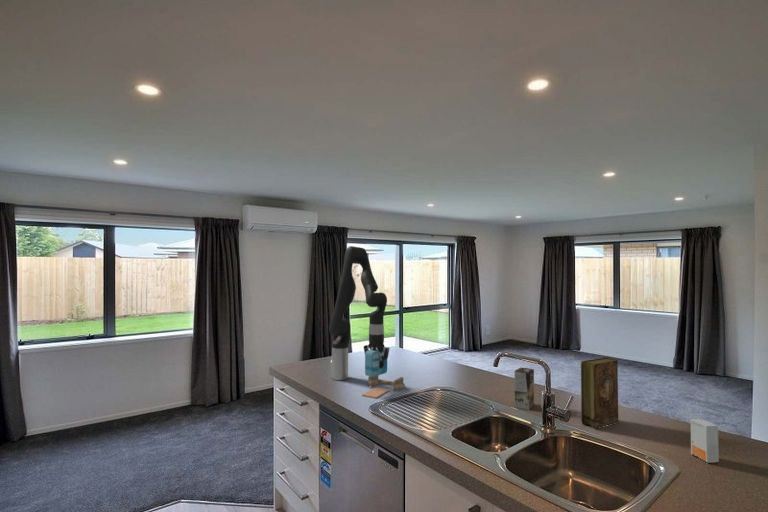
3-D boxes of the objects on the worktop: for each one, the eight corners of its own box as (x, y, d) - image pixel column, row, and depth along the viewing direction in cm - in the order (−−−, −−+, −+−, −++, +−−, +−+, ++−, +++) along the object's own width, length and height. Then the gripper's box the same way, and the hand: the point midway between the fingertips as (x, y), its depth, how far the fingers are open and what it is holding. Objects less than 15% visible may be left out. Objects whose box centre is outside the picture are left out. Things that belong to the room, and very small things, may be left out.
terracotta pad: (361, 395, 185) (361, 394, 185) (375, 388, 197) (375, 387, 197) (376, 398, 181) (376, 397, 181) (389, 390, 193) (389, 389, 193)
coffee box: (529, 410, 167) (528, 373, 168) (514, 407, 171) (514, 371, 171) (534, 404, 174) (534, 368, 175) (520, 401, 178) (519, 366, 179)
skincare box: (690, 455, 127) (689, 418, 127) (702, 454, 127) (701, 418, 128) (707, 464, 121) (706, 426, 121) (719, 464, 121) (718, 425, 122)
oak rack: (368, 386, 200) (368, 376, 201) (377, 381, 209) (377, 372, 209) (396, 391, 192) (396, 381, 193) (404, 386, 201) (404, 376, 201)
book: (607, 417, 159) (606, 357, 160) (620, 422, 154) (619, 359, 155) (581, 424, 152) (580, 361, 152) (594, 430, 147) (593, 364, 148)
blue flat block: (371, 377, 183) (371, 352, 184) (364, 376, 186) (364, 351, 187) (387, 372, 192) (387, 348, 193) (380, 371, 195) (380, 347, 196)
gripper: (392, 333, 190) (392, 367, 189) (367, 330, 197) (367, 364, 196) (385, 335, 183) (385, 371, 183) (360, 332, 190) (360, 367, 190)
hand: (376, 367), depth 189 cm, fingers closed on blue flat block, 5 cm apart
